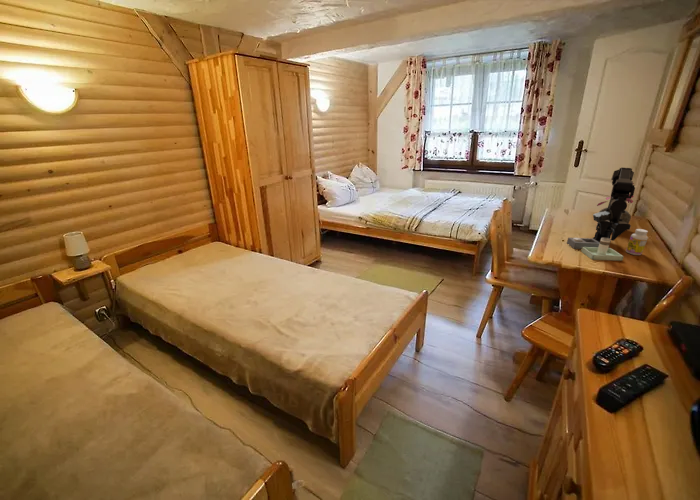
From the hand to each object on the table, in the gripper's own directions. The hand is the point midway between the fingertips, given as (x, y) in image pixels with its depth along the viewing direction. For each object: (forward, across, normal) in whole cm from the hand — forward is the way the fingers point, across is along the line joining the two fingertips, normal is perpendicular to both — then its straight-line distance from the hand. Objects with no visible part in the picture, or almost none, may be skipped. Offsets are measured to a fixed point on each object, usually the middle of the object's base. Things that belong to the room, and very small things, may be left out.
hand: (606, 237), depth 162 cm
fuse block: (+10, -13, -3) cm, 17 cm away
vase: (+10, -48, +30) cm, 58 cm away
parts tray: (+10, 0, 0) cm, 10 cm away
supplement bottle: (+11, -6, +19) cm, 23 cm away
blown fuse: (+10, 0, 0) cm, 10 cm away
